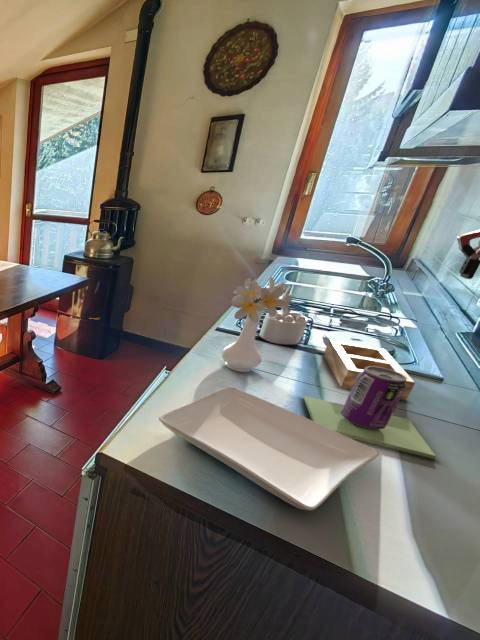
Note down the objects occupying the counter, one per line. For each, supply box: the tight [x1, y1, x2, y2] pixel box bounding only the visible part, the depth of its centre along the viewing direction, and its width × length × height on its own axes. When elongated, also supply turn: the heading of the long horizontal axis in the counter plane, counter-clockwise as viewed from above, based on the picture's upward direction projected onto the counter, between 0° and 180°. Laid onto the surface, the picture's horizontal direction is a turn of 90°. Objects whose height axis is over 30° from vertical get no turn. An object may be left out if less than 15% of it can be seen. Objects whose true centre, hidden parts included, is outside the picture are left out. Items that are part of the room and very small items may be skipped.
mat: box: [303, 395, 437, 460], centre depth 84 cm, size 18×14×1 cm
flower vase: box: [220, 276, 294, 373], centre depth 103 cm, size 13×18×25 cm
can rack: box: [323, 339, 416, 401], centre depth 104 cm, size 12×22×5 cm, turn 149°
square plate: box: [158, 385, 380, 512], centre depth 76 cm, size 27×27×4 cm
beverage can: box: [341, 366, 407, 429], centre depth 82 cm, size 7×7×12 cm
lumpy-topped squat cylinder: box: [259, 309, 309, 345], centre depth 127 cm, size 10×13×9 cm
